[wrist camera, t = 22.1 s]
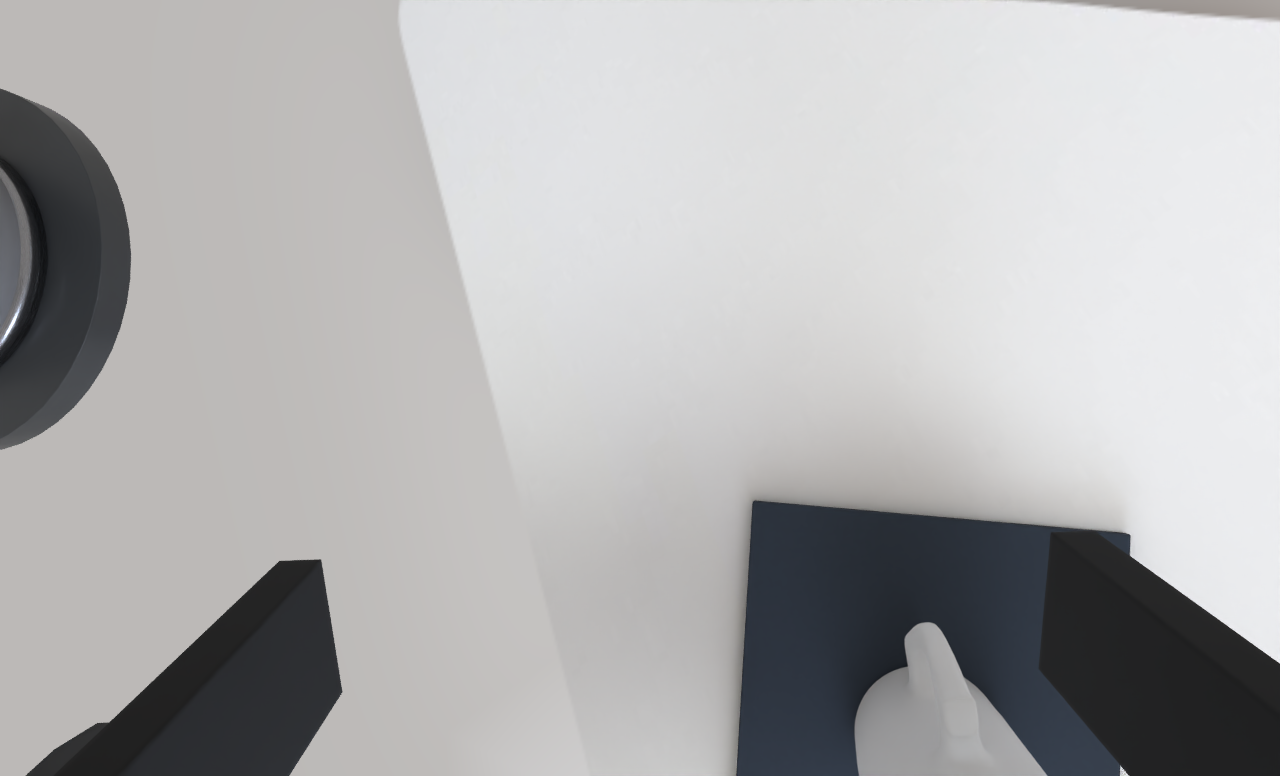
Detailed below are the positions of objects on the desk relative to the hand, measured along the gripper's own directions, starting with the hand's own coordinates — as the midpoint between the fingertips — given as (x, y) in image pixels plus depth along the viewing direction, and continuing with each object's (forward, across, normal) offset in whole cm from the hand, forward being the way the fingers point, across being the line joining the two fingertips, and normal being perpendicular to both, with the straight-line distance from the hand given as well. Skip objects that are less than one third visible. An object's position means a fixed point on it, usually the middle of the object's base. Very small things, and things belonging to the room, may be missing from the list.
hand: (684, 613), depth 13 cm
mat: (+17, +11, -15) cm, 25 cm away
